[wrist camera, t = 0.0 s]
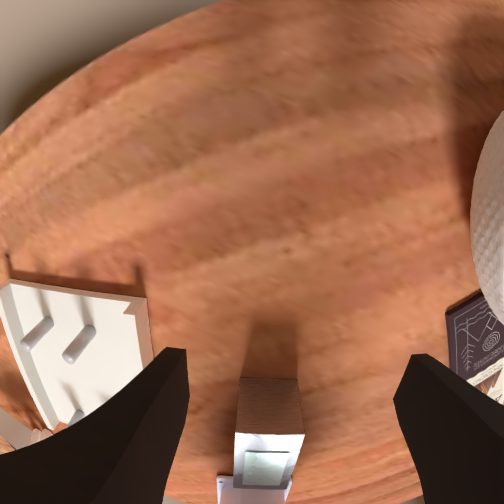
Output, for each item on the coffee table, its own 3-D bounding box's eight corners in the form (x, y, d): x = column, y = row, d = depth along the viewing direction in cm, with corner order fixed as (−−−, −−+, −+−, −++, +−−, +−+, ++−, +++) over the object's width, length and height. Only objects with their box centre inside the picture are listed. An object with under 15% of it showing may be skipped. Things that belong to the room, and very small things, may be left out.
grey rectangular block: (283, 440, 24) (286, 490, 19) (236, 438, 24) (232, 488, 19) (297, 378, 21) (304, 436, 16) (240, 375, 21) (235, 434, 16)
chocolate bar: (526, 266, 18) (511, 397, 23) (519, 262, 19) (507, 392, 24) (448, 316, 19) (450, 436, 24) (442, 310, 20) (447, 430, 25)
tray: (169, 443, 25) (159, 477, 20) (56, 414, 25) (40, 440, 21) (146, 297, 19) (122, 333, 15) (9, 278, 20) (-23, 300, 15)
